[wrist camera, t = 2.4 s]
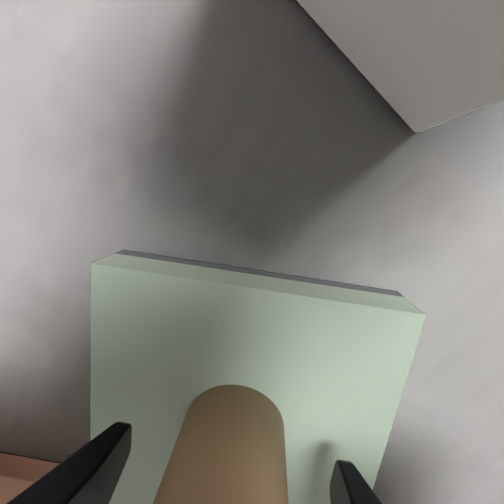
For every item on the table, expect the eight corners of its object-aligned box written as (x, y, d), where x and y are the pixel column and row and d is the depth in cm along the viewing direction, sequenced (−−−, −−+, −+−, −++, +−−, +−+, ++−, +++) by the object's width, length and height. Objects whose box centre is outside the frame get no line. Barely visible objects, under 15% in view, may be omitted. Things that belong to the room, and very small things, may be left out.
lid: (404, 297, 8) (766, 587, 2) (341, 518, 10) (442, 982, 4) (114, 253, 9) (-255, 402, 3) (110, 476, 11) (-102, 853, 5)
